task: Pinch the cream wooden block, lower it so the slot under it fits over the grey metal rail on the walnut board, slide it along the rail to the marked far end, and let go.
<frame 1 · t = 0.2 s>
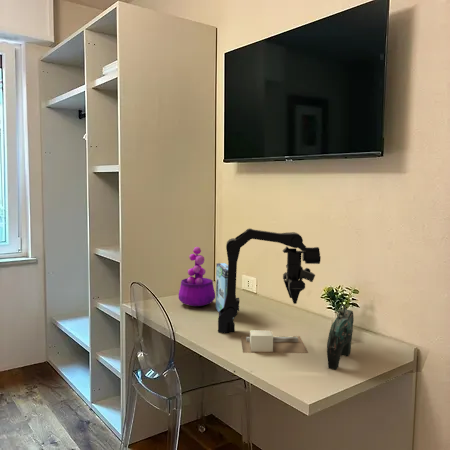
hand: (293, 300, 191), 14 cm above the table, tool pointing down, fingers open, 9 cm apart
dark green upright piece: (340, 361, 165), on the table
cleat board: (272, 347, 178), on the table
gum box: (224, 314, 221), on the table
notched block: (261, 348, 172), point 1 cm above the table, touching cleat board
decorative plant: (196, 305, 237), on the table
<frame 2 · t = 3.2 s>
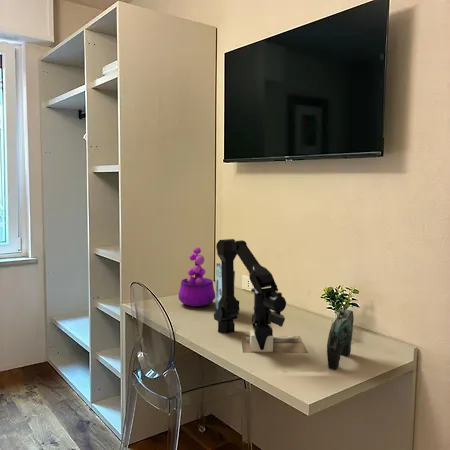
hand: (261, 346, 172), 2 cm above the table, tool pointing down, fingers closed on notched block, 6 cm apart
notched block: (261, 348, 172), point 1 cm above the table, touching cleat board, gripper
everything else where it was.
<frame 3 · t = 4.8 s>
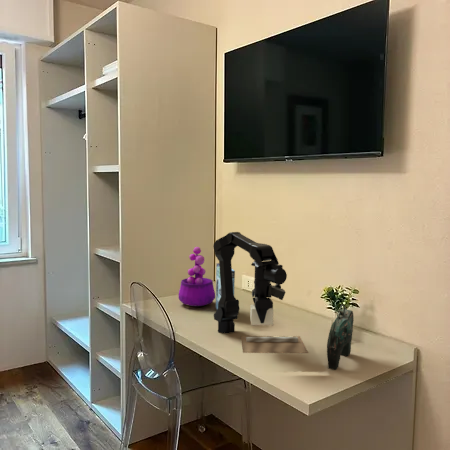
hand: (261, 320, 172), 12 cm above the table, tool pointing down, fingers closed on notched block, 6 cm apart
notched block: (261, 322, 172), point 11 cm above the table, touching gripper
everything else where it was.
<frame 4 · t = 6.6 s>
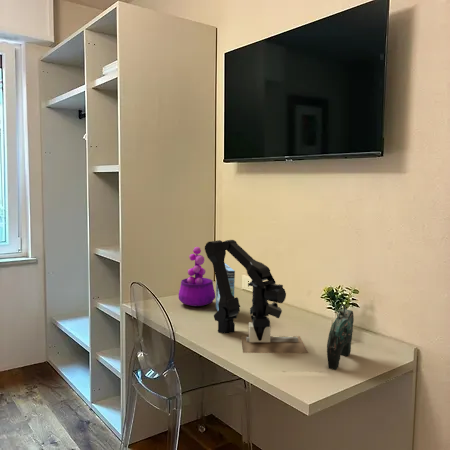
hand: (259, 337, 180), 3 cm above the table, tool pointing down, fingers closed on notched block, 6 cm apart
notched block: (259, 339, 180), point 2 cm above the table, touching gripper
everything else where it was.
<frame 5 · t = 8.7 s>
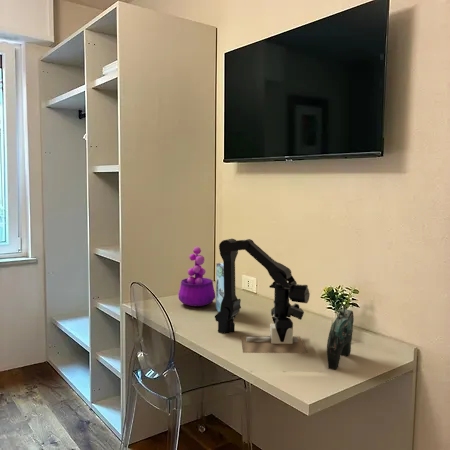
hand: (281, 338, 180), 2 cm above the table, tool pointing down, fingers closed on notched block, 6 cm apart
notched block: (281, 340, 180), point 1 cm above the table, touching gripper
everything else where it was.
when the fingers open (2 cm above the table, at t = 10.1 s): notched block stays where it is, resting on cleat board.
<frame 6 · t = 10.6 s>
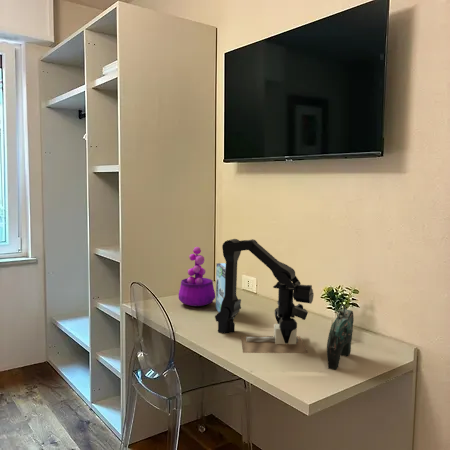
hand: (284, 339, 180), 2 cm above the table, tool pointing down, fingers open, 9 cm apart
notched block: (284, 341, 181), point 1 cm above the table, touching cleat board
everything else where it was.
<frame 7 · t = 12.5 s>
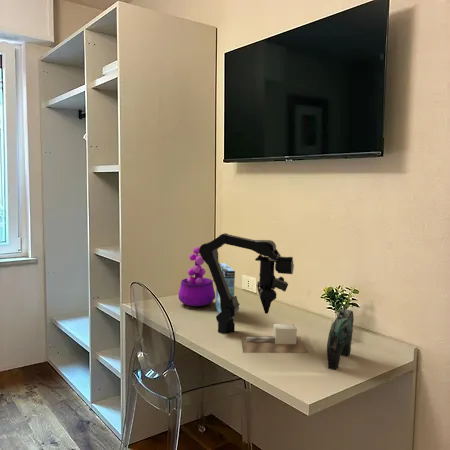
hand: (265, 310, 186), 12 cm above the table, tool pointing down, fingers open, 9 cm apart
nothing on the table moved.
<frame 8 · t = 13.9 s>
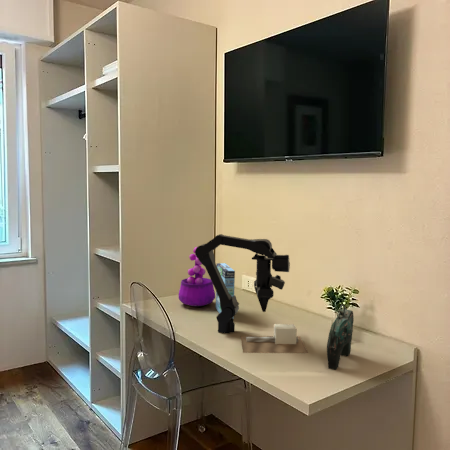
hand: (262, 308, 187), 12 cm above the table, tool pointing down, fingers open, 9 cm apart
nothing on the table moved.
at the end: notched block 0.0 cm from the target spot, point 1.2 cm above the table; notched block tilted 0°; the gripper is holding nothing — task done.
